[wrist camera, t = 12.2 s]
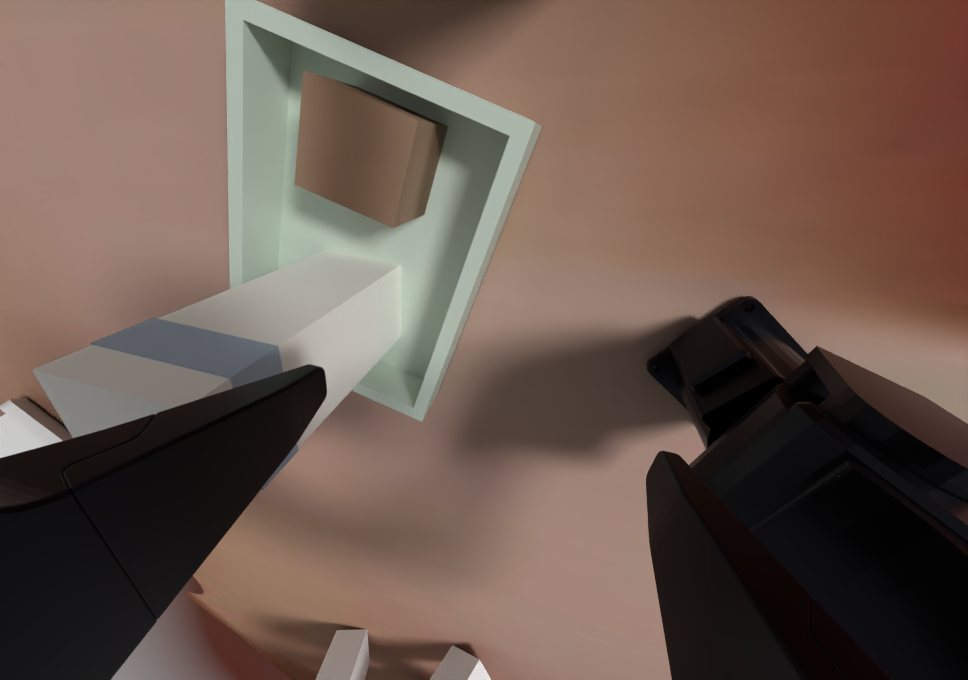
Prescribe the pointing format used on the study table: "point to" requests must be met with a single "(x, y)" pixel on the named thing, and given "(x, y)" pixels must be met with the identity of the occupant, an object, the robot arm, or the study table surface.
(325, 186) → the walnut block
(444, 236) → the pale green tray
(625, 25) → the study table surface
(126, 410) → the carton
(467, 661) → the white geometric sculpture
